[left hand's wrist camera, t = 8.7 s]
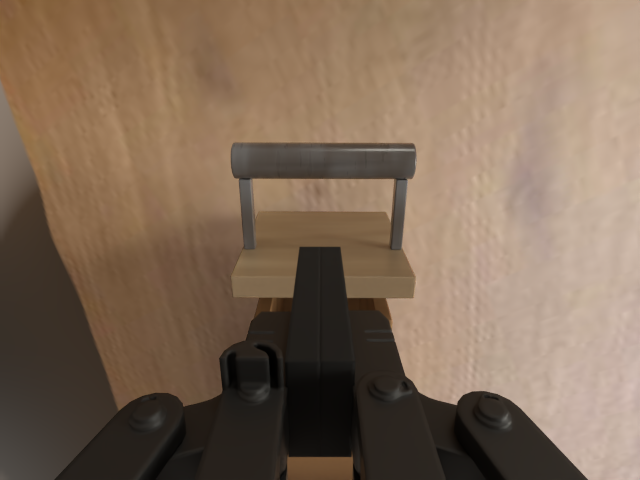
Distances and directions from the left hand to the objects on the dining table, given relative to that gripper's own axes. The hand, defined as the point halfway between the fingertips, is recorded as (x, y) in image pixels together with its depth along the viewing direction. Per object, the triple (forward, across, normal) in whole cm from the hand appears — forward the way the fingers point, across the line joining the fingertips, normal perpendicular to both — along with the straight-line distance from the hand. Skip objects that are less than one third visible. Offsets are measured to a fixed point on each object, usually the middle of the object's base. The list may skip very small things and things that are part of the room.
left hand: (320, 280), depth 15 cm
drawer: (+13, 0, -7) cm, 15 cm away
